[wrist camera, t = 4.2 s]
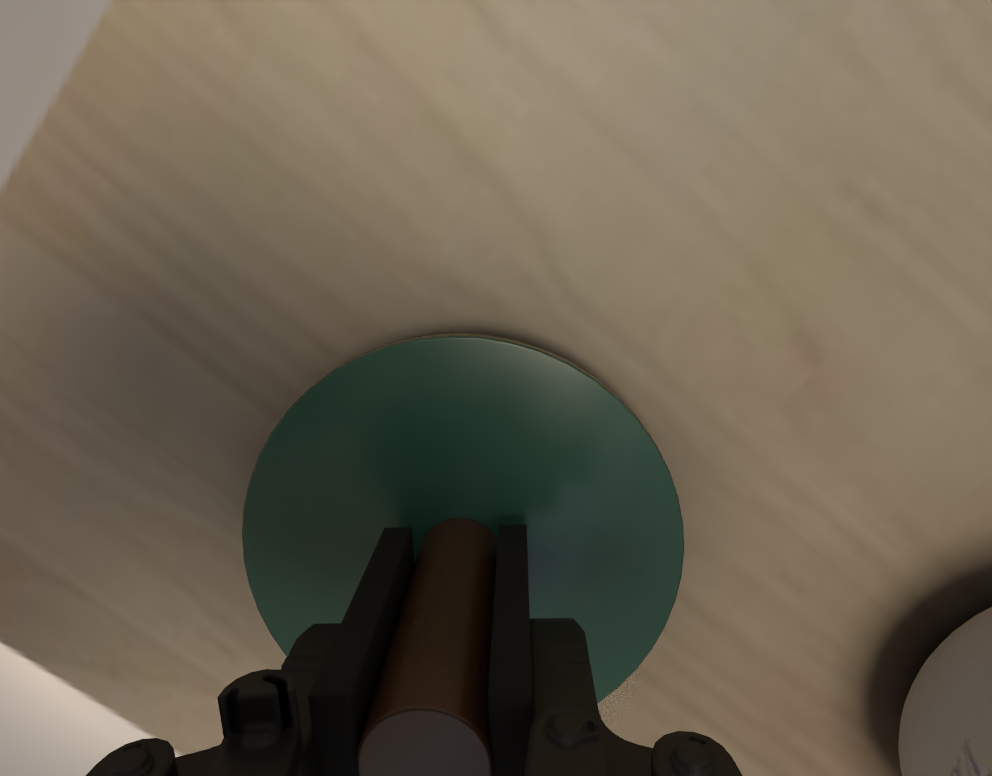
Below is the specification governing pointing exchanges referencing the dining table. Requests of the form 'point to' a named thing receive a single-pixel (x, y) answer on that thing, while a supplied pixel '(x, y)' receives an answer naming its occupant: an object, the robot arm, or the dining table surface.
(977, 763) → the teacup
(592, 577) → the pot lid
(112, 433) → the dining table surface
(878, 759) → the dining table surface
